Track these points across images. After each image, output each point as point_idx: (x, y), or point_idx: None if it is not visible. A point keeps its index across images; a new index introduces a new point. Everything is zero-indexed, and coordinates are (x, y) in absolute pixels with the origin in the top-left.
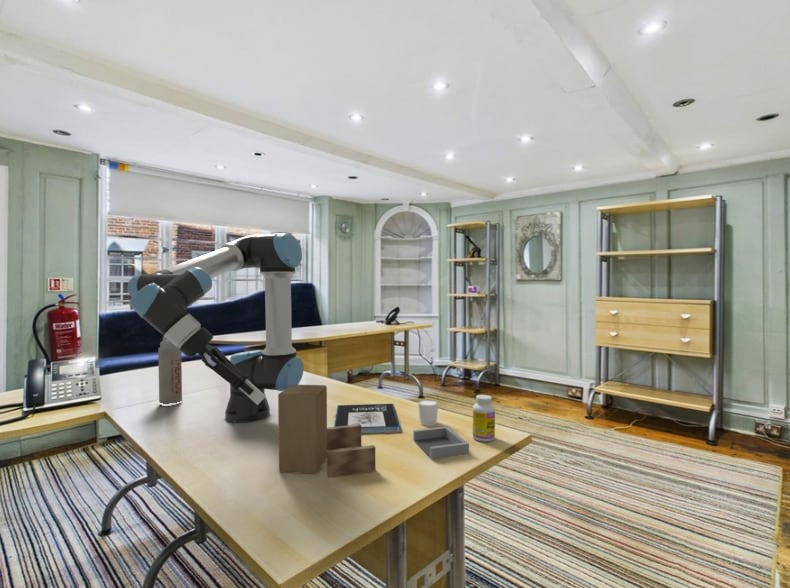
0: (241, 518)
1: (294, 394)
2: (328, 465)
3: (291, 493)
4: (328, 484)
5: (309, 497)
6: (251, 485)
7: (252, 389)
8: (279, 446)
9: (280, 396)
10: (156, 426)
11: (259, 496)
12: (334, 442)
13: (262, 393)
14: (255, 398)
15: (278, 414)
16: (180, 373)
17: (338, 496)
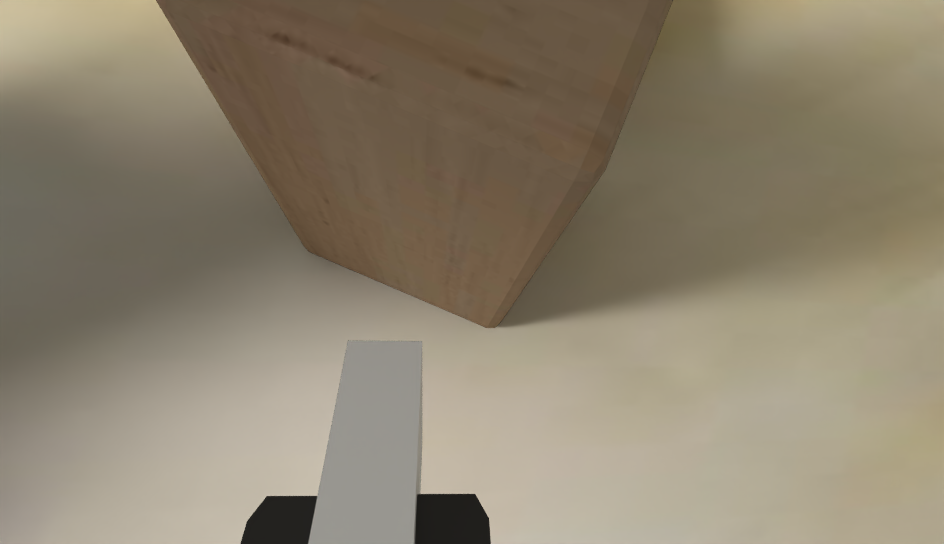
0: (892, 499)
1: (663, 4)
2: None
3: (725, 282)
4: (680, 119)
5: (776, 211)
6: (599, 469)
7: (442, 513)
8: (516, 298)
9: (607, 161)
10: None
11: (720, 426)
12: None
13: (365, 373)
14: (420, 464)
15: (550, 245)
16: None
17: (792, 99)
